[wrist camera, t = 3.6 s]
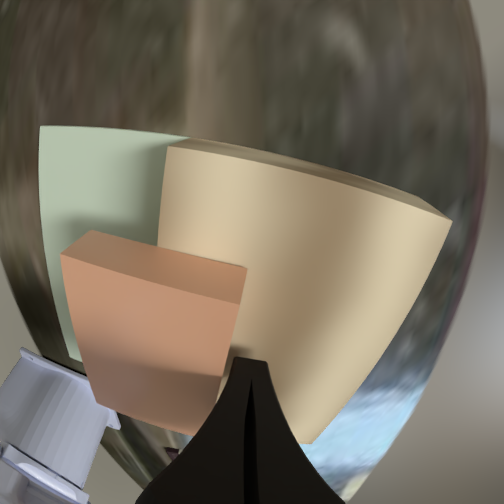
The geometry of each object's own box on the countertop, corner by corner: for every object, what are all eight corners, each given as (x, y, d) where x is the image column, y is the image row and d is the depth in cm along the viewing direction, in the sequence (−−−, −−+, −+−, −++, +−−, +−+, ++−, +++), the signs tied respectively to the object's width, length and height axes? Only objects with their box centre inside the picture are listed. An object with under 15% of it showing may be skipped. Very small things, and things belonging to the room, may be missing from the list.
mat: (71, 354, 18) (69, 357, 17) (43, 125, 10) (40, 126, 10) (169, 386, 18) (168, 390, 18) (191, 137, 11) (190, 138, 10)
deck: (169, 386, 18) (159, 421, 15) (191, 137, 11) (167, 145, 8) (308, 409, 18) (311, 444, 16) (417, 196, 11) (452, 221, 9)
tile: (110, 376, 14) (96, 403, 12) (91, 229, 10) (59, 253, 8) (213, 408, 14) (206, 439, 12) (247, 268, 10) (239, 304, 8)
